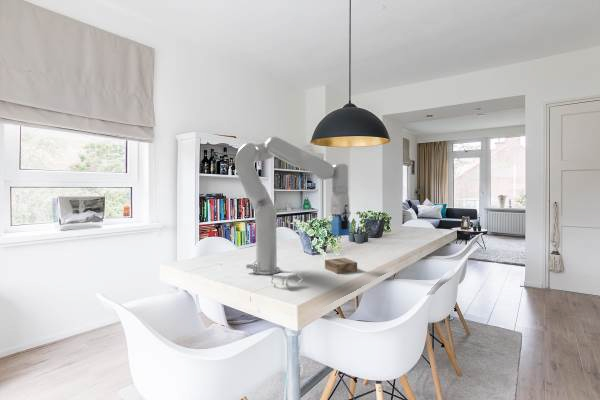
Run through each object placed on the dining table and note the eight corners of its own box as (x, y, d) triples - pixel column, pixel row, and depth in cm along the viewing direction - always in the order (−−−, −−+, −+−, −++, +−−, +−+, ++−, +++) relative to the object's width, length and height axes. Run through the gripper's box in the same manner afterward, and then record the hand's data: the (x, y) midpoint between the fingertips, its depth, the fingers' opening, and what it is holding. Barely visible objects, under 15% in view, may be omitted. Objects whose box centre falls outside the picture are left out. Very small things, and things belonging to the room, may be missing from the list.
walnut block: (336, 273, 150) (336, 264, 150) (325, 268, 160) (325, 259, 160) (357, 270, 155) (357, 262, 155) (344, 265, 165) (344, 257, 165)
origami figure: (278, 291, 125) (278, 278, 125) (270, 285, 132) (270, 273, 132) (306, 287, 131) (306, 274, 131) (296, 281, 138) (296, 269, 138)
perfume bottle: (338, 236, 153) (338, 210, 152) (331, 234, 158) (331, 209, 158) (349, 234, 156) (349, 209, 155) (342, 233, 161) (341, 208, 161)
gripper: (324, 190, 162) (324, 226, 163) (343, 190, 147) (343, 231, 147) (337, 190, 165) (337, 225, 166) (357, 190, 150) (357, 229, 150)
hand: (340, 228), depth 157 cm, fingers closed on perfume bottle, 6 cm apart
